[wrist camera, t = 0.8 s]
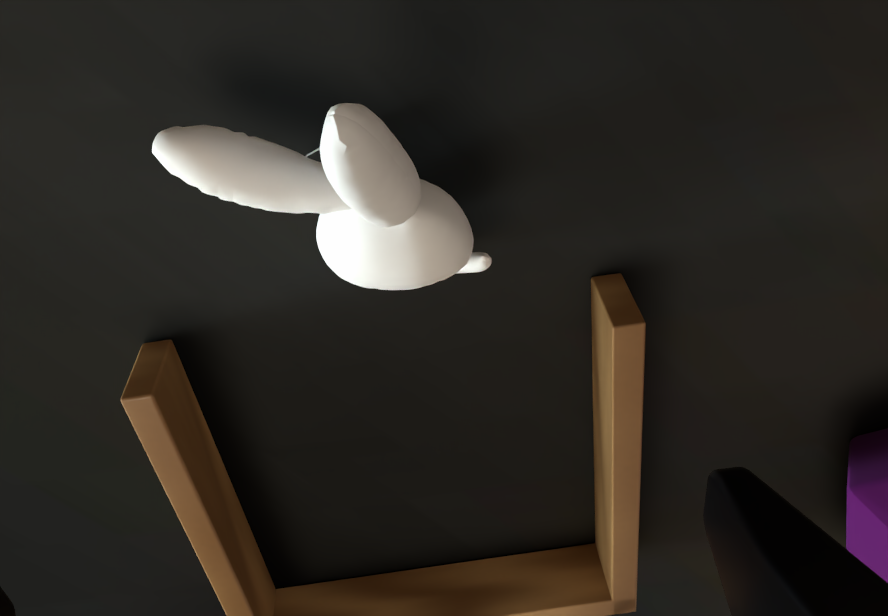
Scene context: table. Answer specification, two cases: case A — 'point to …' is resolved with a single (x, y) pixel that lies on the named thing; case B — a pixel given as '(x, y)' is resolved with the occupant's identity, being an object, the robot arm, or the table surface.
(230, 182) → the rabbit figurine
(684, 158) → the table surface
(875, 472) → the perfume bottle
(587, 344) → the table surface
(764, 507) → the robot arm
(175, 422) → the frame
